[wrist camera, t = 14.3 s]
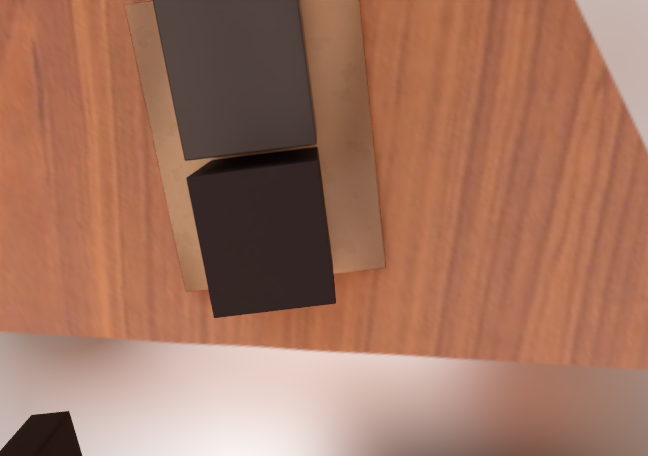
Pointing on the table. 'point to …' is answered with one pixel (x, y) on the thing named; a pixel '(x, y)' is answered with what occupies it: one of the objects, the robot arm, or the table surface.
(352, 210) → the board
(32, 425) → the robot arm
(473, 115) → the table surface
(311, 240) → the black cube
